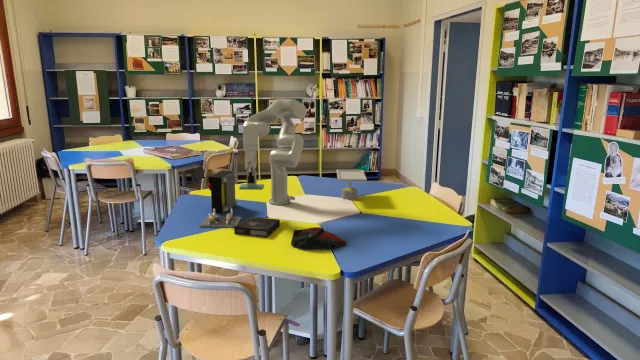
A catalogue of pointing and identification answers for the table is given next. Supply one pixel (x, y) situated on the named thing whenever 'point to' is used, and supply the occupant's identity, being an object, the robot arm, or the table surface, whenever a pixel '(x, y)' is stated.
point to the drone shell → (315, 239)
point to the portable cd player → (257, 226)
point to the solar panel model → (350, 176)
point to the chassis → (220, 220)
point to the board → (244, 187)
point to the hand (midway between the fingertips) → (251, 181)
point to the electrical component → (222, 190)
